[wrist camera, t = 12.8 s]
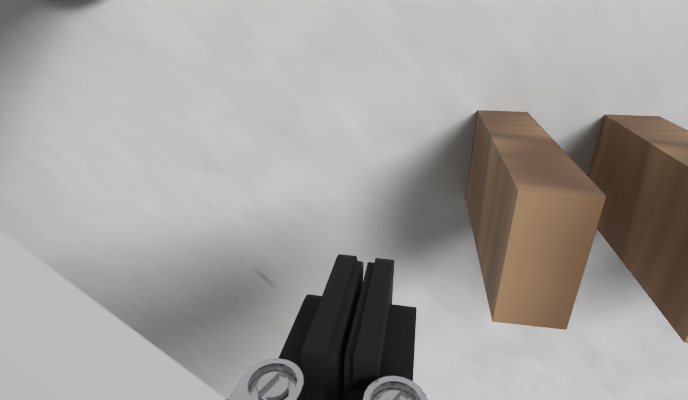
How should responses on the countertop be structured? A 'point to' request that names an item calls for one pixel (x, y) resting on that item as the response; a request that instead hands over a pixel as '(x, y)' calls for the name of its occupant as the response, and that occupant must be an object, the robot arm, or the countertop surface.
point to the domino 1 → (529, 219)
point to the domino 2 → (647, 206)
